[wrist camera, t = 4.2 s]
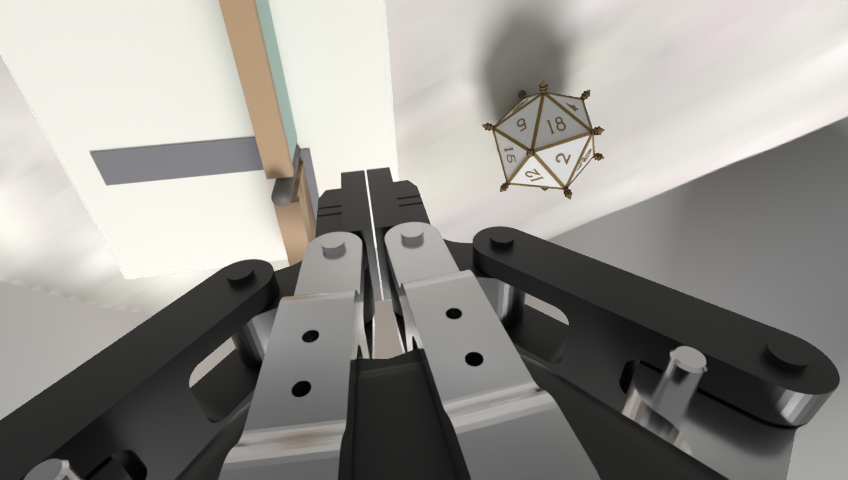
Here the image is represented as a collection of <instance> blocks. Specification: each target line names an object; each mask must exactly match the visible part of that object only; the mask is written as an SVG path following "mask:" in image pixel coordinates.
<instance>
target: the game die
mask: <svg viewBox="0 0 848 480" xmlns="http://www.w3.org/2000/svg"><path fill="white" fill-rule="evenodd" d="M539 86H540V91H541V93H538V94H535V95H532V96H529V97H526V93H525V91H522V90H520V93H519V96H520V98H521V99H522V100H521V101H520V102H519V103H518V104H517V105H516V106H515V107H514V108H513V109H512V110H511V111H510V112H508V113H507V114H506V115H505V116H504V117H503V118H502V119H501V120H500V121H499V122H498V123H497V124H496V125H495V126H493V125H491V124H489V123H486V124H484V125H482V126H483V127H484V128H485V130H489V131H490V130H492V131H493V134H494V137H495V141H496V145H497V149H498V152H499V156H500V160H501V164H502V167H503V171H504V175H505V179H506V183H504V184H503V185H502V186H501V189H500V192H502V191H506V189H507V188H508V186H509V185H520V186H530V187H540V188H542V189H543V190H544V191H546V190H547V189H548V188H551V189H561V190H564V194H565V197H567V198H569V199H570V200H571V195H572V193H571V190H569V189H568V187H569V185H570V184H571V183H572V182H573V181H574V179H575V178H576V177H577V176H578V175H579V174H580V172H581V171H582V170H583V169H584V168H585V166H586V165H587V164H588V163H589V162H590V160H591V159H592V158H595V160H596V159H597V160H598V161H599V160H601V159H604V157H603V156H602V154H599V153H596V154H595V150H594V135H601V133H602V132H603V131H604V129H602V128H600V127H599V126H598V128H596V127H595V128H594V129H593V128H592V125H591V122H590V119H589V116H588V113H587V110H586V107H585V103H584V100H585V99H587V98H588V97H589V96H590V90H588V91H584V93H583V94H582V96H581V97H580V98H578V97H572V96H566V95H561V94H555V93H549V92H546V90H547V89H548V88H547V86H548V85H547V84H546V83H545V82H544V81H542V83H541V84H540V85H539Z"/></svg>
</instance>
